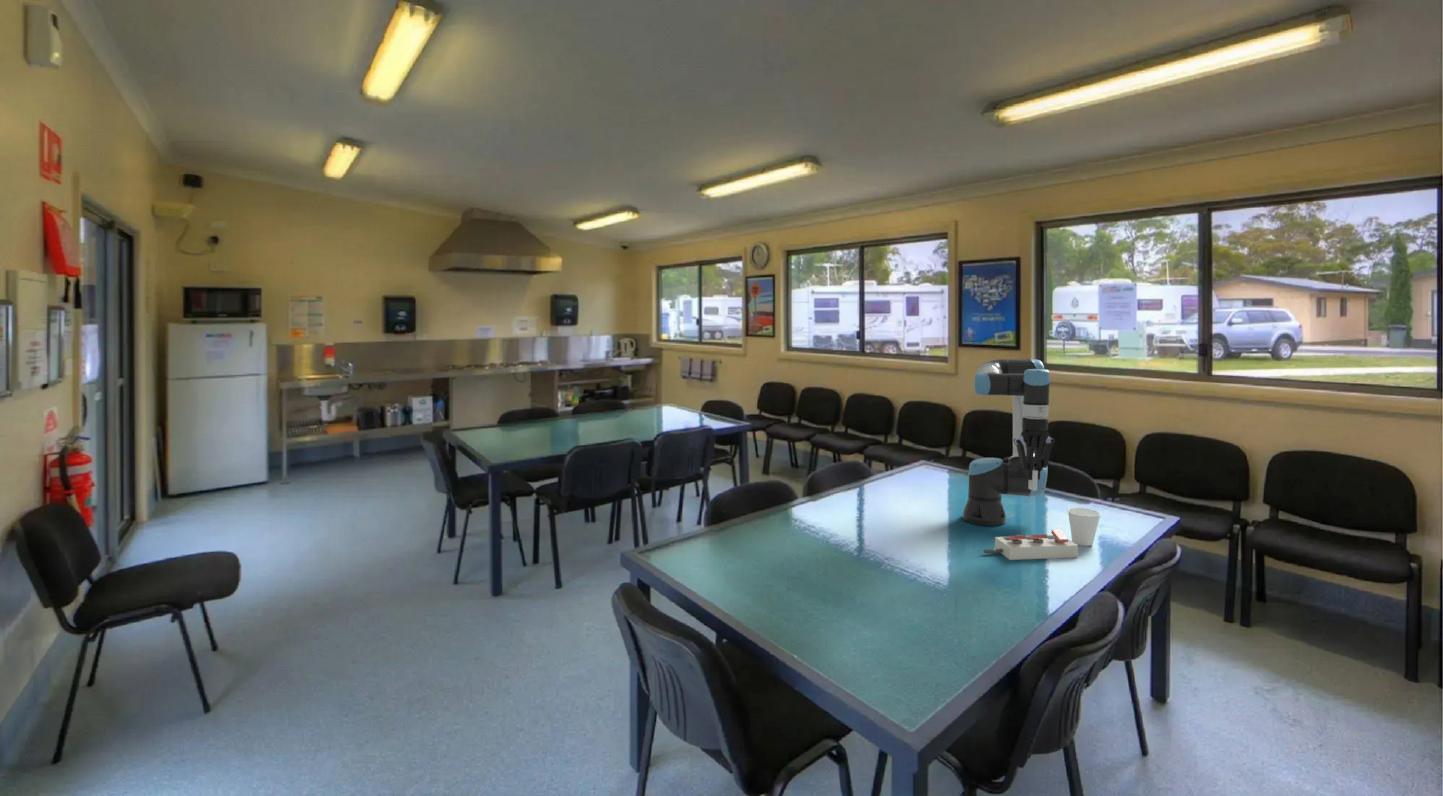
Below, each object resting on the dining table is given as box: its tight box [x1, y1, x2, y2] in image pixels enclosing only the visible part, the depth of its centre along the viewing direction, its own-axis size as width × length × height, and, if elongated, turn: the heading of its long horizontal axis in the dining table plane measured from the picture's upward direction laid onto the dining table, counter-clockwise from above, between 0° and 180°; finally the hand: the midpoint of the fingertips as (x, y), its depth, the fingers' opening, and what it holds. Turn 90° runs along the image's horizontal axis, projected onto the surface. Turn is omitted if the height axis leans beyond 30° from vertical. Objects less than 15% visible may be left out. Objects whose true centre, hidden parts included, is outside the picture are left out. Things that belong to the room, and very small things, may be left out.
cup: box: [1066, 507, 1102, 547], centre depth 217 cm, size 10×10×11 cm
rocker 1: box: [1008, 534, 1026, 540], centre depth 207 cm, size 5×3×1 cm, turn 2°
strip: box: [982, 534, 1079, 561], centre depth 209 cm, size 10×28×5 cm, turn 93°
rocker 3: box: [1050, 529, 1070, 543], centre depth 208 cm, size 5×3×1 cm, turn 3°
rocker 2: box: [1029, 533, 1048, 539], centre depth 207 cm, size 5×3×1 cm, turn 2°
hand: (1032, 489), depth 210 cm, fingers closed
